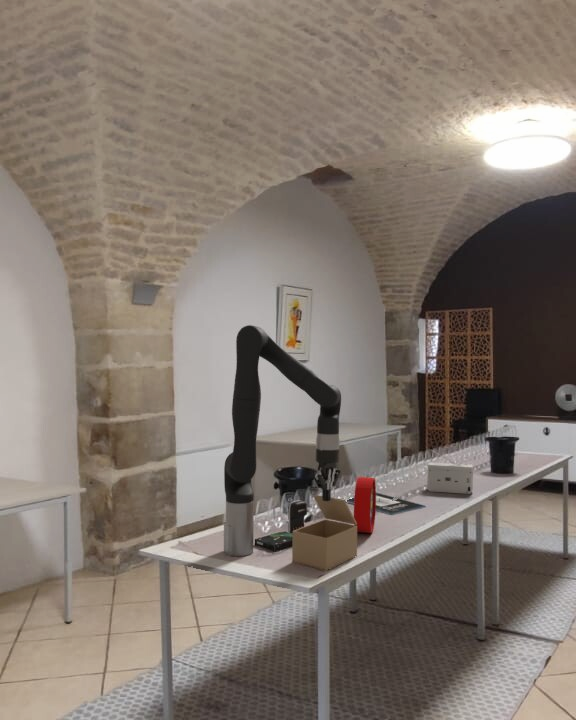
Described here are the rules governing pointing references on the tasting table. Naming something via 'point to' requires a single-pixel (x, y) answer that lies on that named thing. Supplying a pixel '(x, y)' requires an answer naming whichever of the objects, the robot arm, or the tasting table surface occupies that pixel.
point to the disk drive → (275, 541)
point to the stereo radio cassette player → (450, 477)
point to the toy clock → (365, 504)
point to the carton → (324, 544)
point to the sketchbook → (392, 504)
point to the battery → (296, 515)
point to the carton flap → (335, 510)
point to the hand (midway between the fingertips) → (326, 500)
